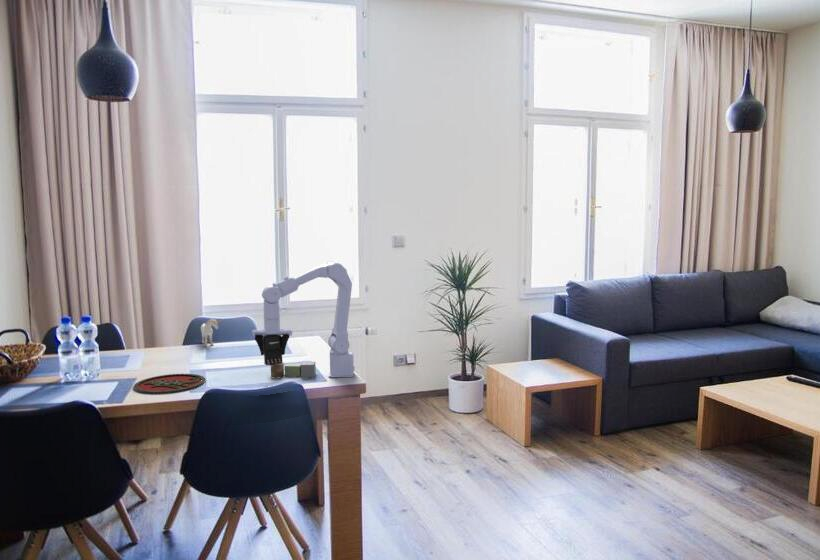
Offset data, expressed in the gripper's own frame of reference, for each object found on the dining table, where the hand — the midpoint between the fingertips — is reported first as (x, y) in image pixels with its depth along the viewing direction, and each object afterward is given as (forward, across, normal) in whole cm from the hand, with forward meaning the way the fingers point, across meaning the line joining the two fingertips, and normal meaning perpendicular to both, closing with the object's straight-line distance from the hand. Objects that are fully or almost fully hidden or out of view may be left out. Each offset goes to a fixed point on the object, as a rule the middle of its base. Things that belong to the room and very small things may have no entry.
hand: (273, 354), depth 231 cm
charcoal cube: (+10, -12, -8) cm, 18 cm away
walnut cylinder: (+10, 0, -8) cm, 13 cm away
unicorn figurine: (+11, +41, -70) cm, 82 cm away
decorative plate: (+11, +38, +1) cm, 40 cm away
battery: (+4, 0, 0) cm, 4 cm away
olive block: (+11, -6, -10) cm, 16 cm away
